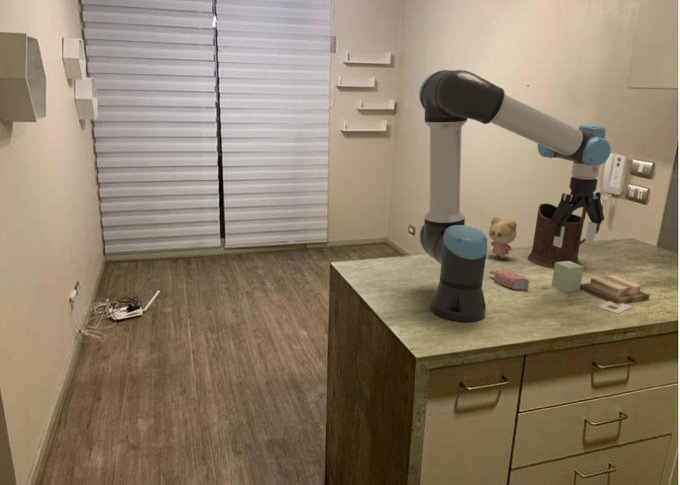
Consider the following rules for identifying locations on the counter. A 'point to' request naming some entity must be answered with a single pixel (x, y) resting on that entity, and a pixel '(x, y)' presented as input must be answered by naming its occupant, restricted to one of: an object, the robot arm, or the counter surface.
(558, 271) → the sage brick
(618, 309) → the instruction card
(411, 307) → the counter surface
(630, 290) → the base brick
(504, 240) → the toy
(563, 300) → the counter surface
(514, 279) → the ice cream bar
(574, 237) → the cup holder
